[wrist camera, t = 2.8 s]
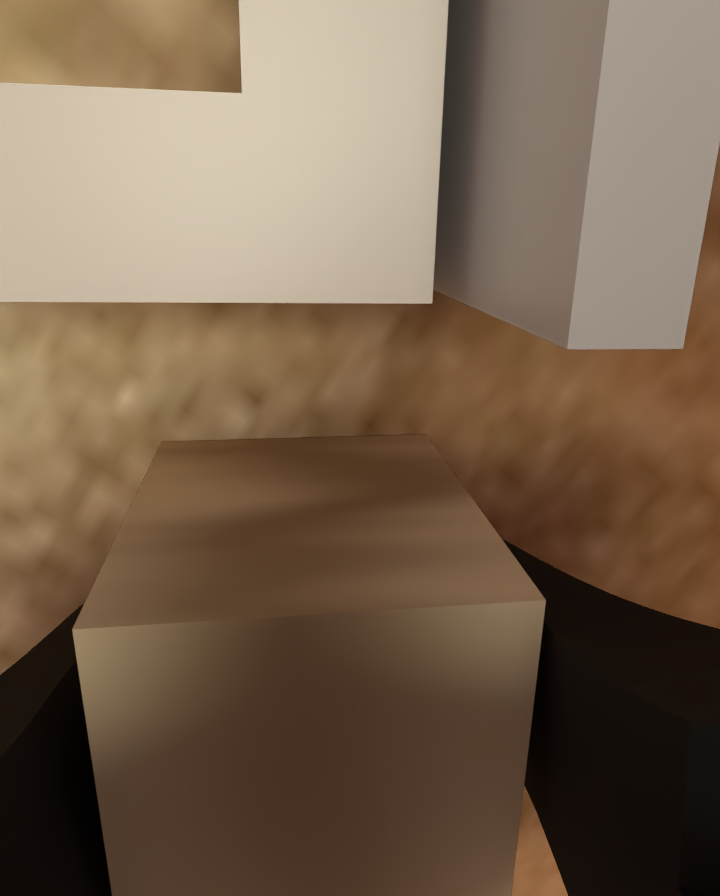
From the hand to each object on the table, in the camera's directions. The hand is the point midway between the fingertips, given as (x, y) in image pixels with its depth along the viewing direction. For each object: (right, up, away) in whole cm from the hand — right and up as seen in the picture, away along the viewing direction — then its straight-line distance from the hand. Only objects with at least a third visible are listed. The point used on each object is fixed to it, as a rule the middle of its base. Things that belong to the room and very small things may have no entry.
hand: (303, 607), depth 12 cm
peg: (0, +1, +2) cm, 2 cm away
